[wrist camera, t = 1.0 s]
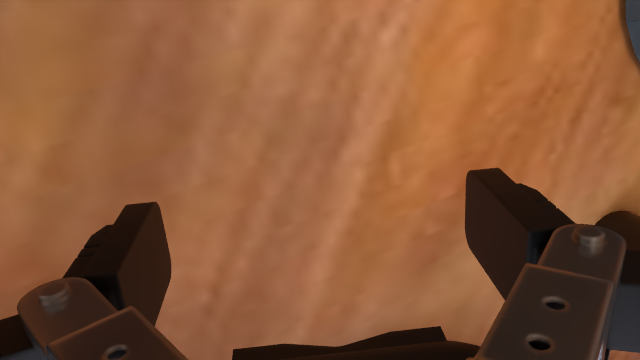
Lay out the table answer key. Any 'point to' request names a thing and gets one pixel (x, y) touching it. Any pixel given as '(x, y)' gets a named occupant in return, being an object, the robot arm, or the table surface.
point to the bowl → (633, 24)
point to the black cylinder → (624, 227)
